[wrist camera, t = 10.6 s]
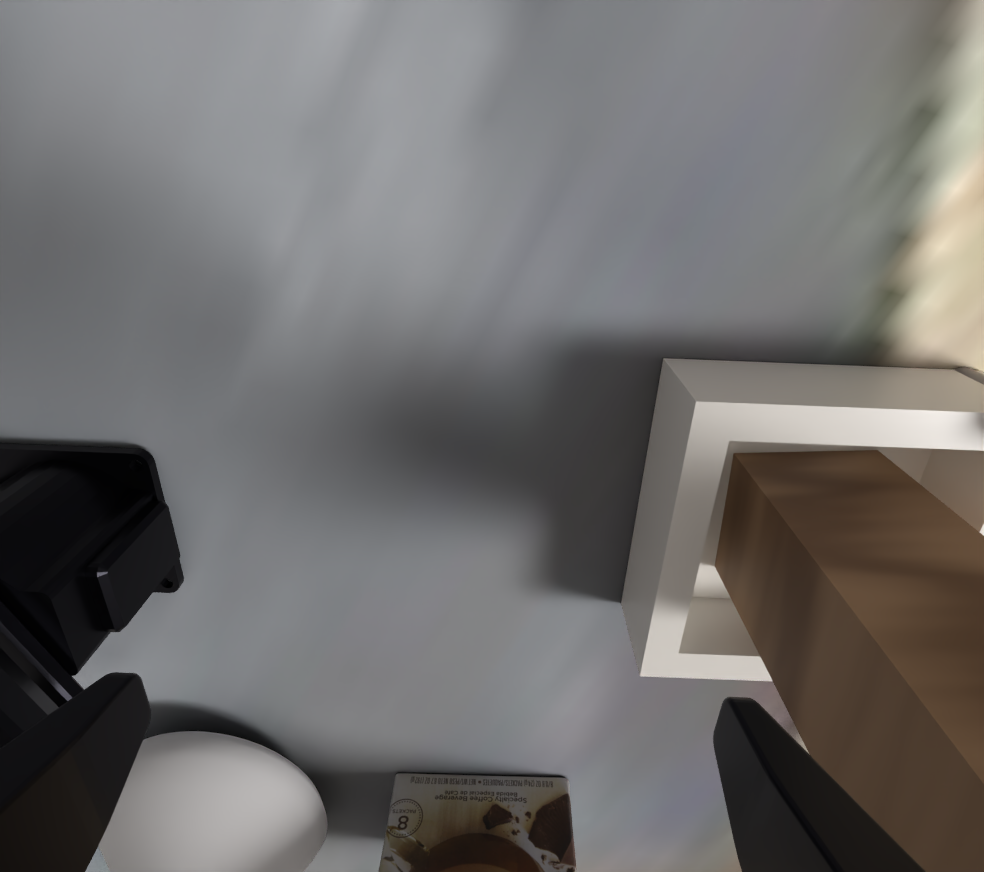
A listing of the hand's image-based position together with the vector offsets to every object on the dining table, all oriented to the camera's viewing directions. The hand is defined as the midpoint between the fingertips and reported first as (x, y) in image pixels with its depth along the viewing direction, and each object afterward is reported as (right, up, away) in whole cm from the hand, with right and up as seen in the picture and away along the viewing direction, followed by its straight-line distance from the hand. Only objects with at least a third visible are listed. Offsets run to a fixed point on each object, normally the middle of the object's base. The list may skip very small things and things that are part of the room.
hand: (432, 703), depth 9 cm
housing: (+12, +2, +13) cm, 18 cm away
